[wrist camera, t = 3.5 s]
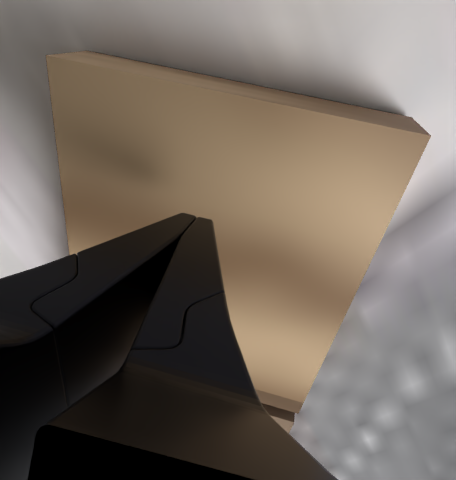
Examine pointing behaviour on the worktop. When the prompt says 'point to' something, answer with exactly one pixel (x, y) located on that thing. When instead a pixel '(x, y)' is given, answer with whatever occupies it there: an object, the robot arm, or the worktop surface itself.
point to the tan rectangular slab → (237, 192)
